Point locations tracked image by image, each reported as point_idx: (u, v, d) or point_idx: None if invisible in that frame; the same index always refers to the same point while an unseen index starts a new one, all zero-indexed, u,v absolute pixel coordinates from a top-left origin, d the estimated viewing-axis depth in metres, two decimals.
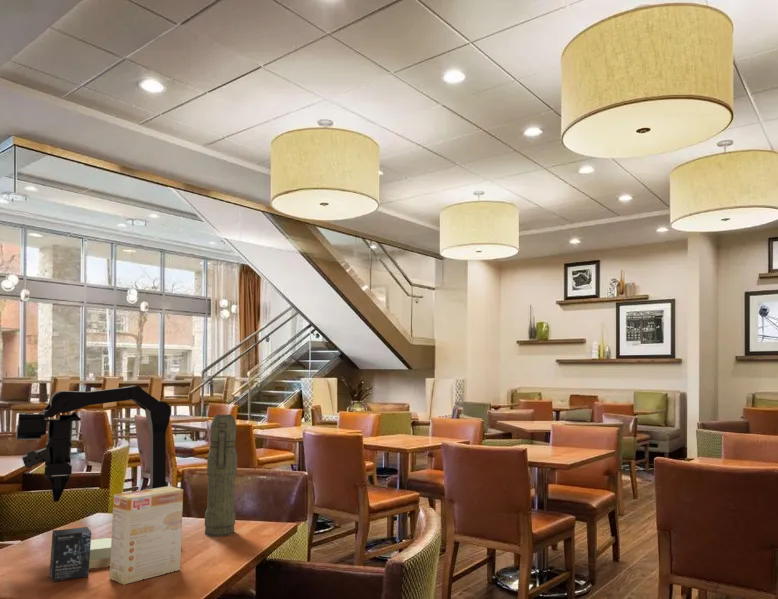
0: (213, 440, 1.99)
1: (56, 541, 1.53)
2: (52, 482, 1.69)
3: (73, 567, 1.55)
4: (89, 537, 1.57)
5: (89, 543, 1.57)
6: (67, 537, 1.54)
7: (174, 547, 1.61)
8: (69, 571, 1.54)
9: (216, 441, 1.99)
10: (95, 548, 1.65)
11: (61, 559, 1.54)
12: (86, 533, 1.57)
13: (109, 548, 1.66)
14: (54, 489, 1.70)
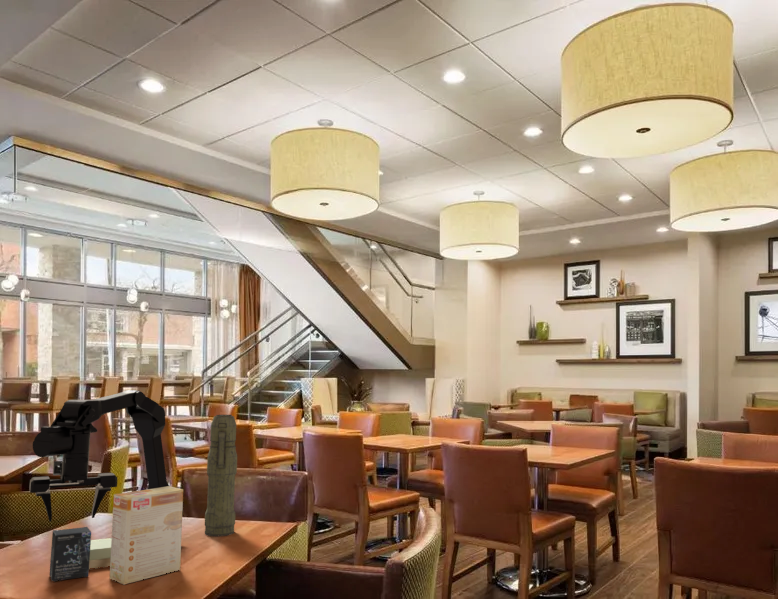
0: (213, 440, 1.99)
1: (56, 541, 1.53)
2: None
3: (73, 567, 1.55)
4: (89, 537, 1.57)
5: (89, 543, 1.57)
6: (67, 537, 1.54)
7: (174, 547, 1.61)
8: (69, 571, 1.54)
9: (216, 441, 1.99)
10: (95, 548, 1.65)
11: (61, 559, 1.54)
12: (86, 533, 1.57)
13: (109, 548, 1.66)
14: None
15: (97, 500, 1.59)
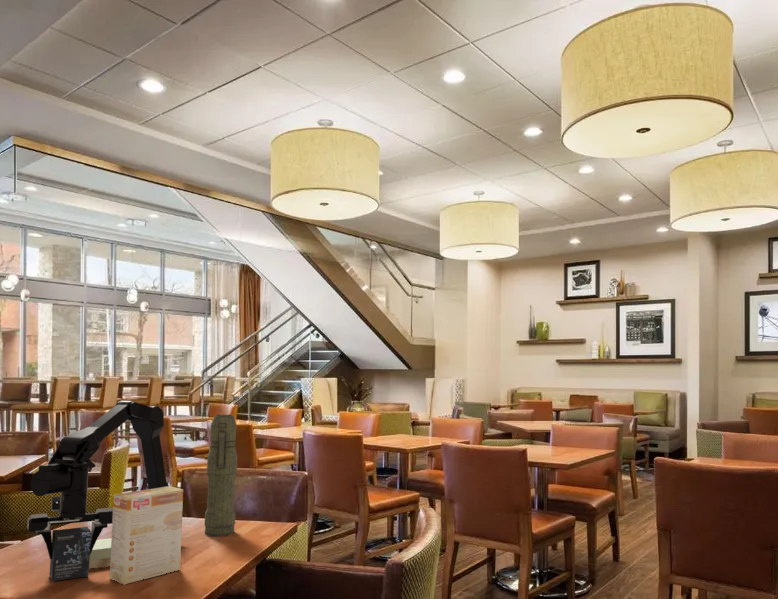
0: (213, 440, 1.99)
1: (56, 541, 1.53)
2: None
3: (73, 567, 1.55)
4: (89, 537, 1.57)
5: (89, 543, 1.57)
6: (67, 537, 1.54)
7: (174, 547, 1.61)
8: (69, 571, 1.54)
9: (216, 441, 1.99)
10: (96, 548, 1.65)
11: (61, 559, 1.54)
12: (86, 533, 1.57)
13: (110, 548, 1.66)
14: None
15: (93, 537, 1.58)
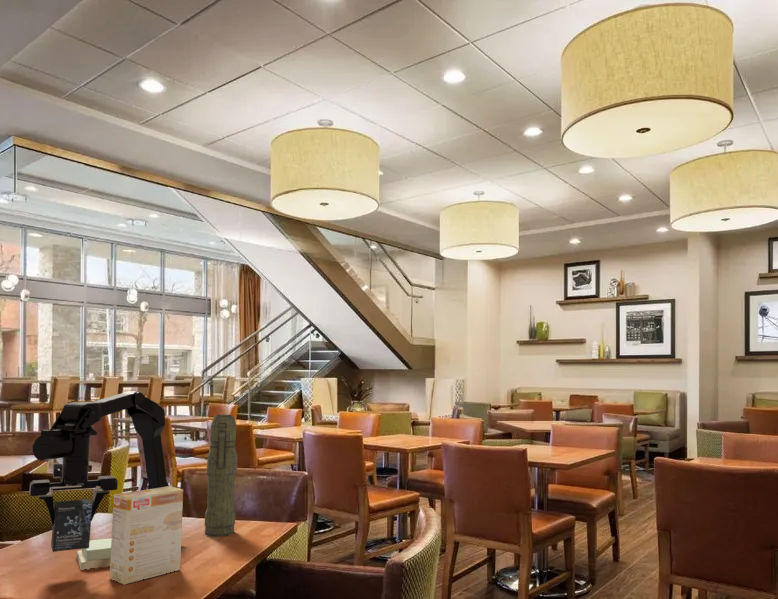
0: (213, 440, 1.99)
1: (57, 512, 1.54)
2: None
3: (74, 538, 1.55)
4: (90, 509, 1.57)
5: (90, 515, 1.57)
6: (67, 508, 1.55)
7: (174, 547, 1.61)
8: (69, 542, 1.55)
9: (216, 441, 1.99)
10: (96, 548, 1.65)
11: (62, 530, 1.54)
12: (87, 505, 1.57)
13: (110, 548, 1.66)
14: None
15: (95, 503, 1.59)
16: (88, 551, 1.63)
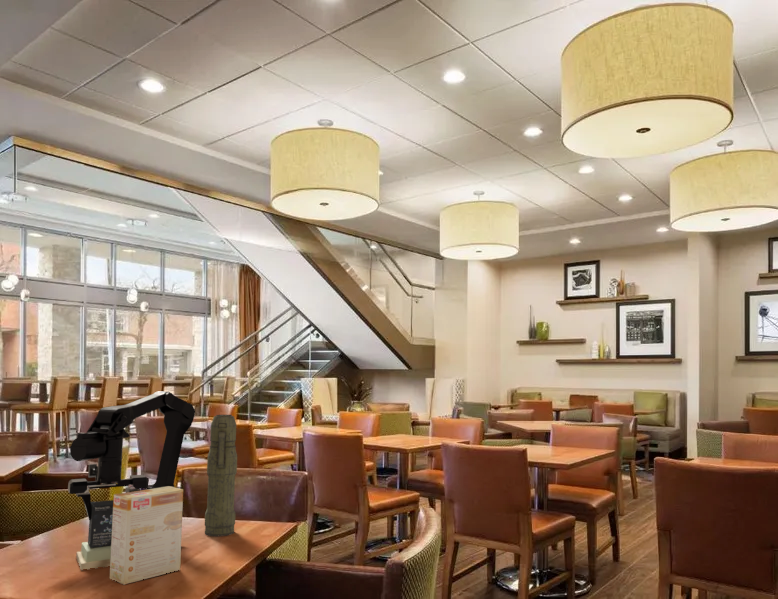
0: (213, 440, 1.99)
1: (93, 511, 1.67)
2: (82, 498, 1.69)
3: (109, 535, 1.68)
4: None
5: None
6: (103, 508, 1.68)
7: (174, 547, 1.61)
8: (105, 539, 1.68)
9: (216, 441, 1.99)
10: (96, 549, 1.65)
11: (98, 528, 1.67)
12: None
13: (110, 549, 1.66)
14: (85, 506, 1.69)
15: None
16: (88, 552, 1.63)
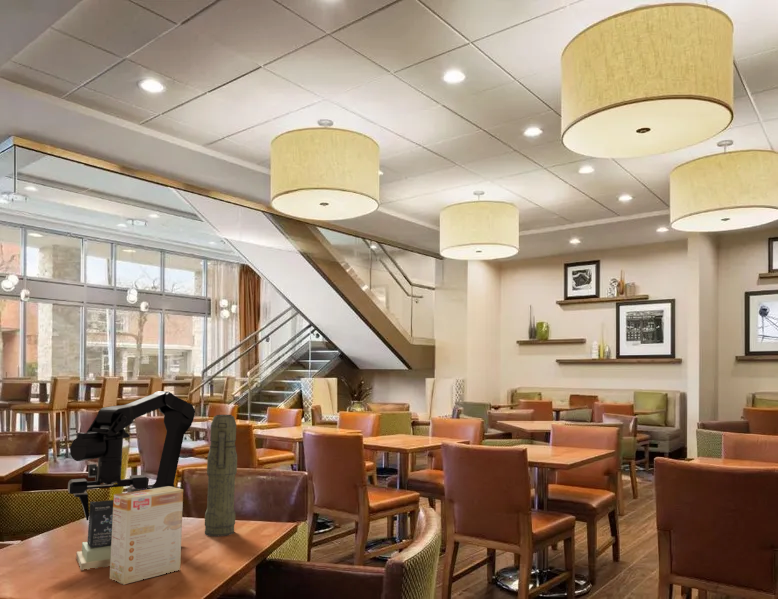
0: (213, 440, 1.99)
1: (94, 511, 1.67)
2: None
3: (109, 535, 1.68)
4: None
5: None
6: (103, 508, 1.68)
7: (174, 547, 1.61)
8: (105, 539, 1.68)
9: (216, 441, 1.99)
10: (96, 549, 1.65)
11: (99, 528, 1.67)
12: None
13: (110, 549, 1.66)
14: (83, 506, 1.69)
15: None
16: (88, 552, 1.63)
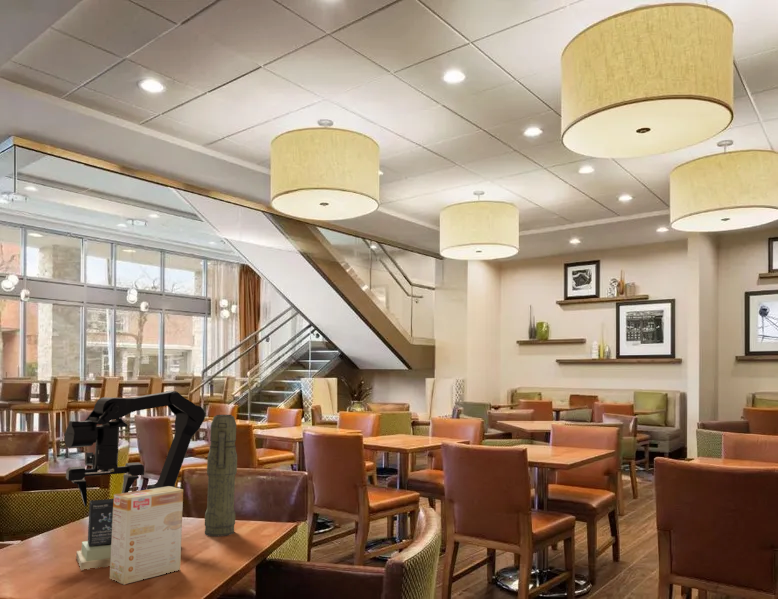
0: (213, 440, 1.99)
1: (92, 509, 1.68)
2: (78, 486, 1.75)
3: (108, 533, 1.69)
4: None
5: None
6: (101, 506, 1.69)
7: (174, 547, 1.61)
8: (104, 537, 1.68)
9: (216, 441, 1.99)
10: (96, 548, 1.65)
11: (97, 526, 1.68)
12: None
13: (110, 548, 1.66)
14: (81, 493, 1.74)
15: (126, 487, 1.78)
16: (88, 551, 1.63)
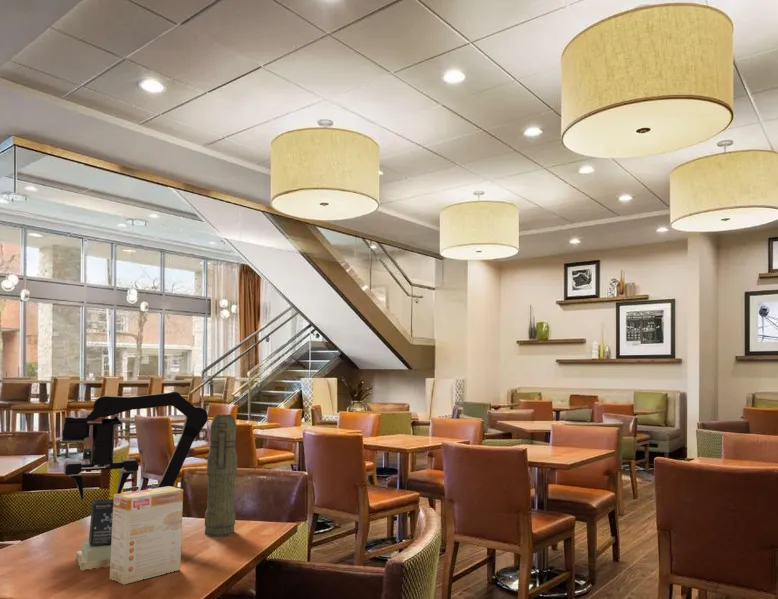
0: (213, 440, 1.99)
1: (94, 509, 1.68)
2: (75, 480, 1.82)
3: (109, 534, 1.69)
4: None
5: None
6: (104, 506, 1.69)
7: (174, 547, 1.61)
8: (106, 537, 1.68)
9: (216, 441, 1.99)
10: (97, 549, 1.65)
11: (99, 526, 1.68)
12: None
13: None
14: None
15: (121, 482, 1.85)
16: (89, 552, 1.63)
